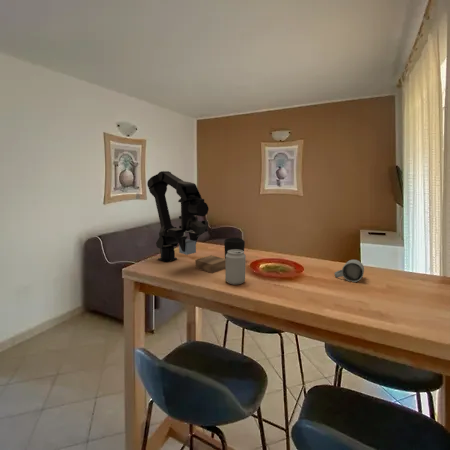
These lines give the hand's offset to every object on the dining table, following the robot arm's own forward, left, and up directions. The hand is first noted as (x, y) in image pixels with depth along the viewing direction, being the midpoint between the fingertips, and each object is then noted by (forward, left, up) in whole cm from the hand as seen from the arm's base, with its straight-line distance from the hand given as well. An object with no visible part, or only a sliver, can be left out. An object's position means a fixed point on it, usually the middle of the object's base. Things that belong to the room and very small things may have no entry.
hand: (188, 250), depth 129 cm
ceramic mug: (+57, +32, -8) cm, 66 cm away
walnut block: (+7, +7, -8) cm, 13 cm away
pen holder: (+8, +22, -8) cm, 25 cm away
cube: (-1, 0, -1) cm, 1 cm away
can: (+25, 0, -8) cm, 26 cm away
